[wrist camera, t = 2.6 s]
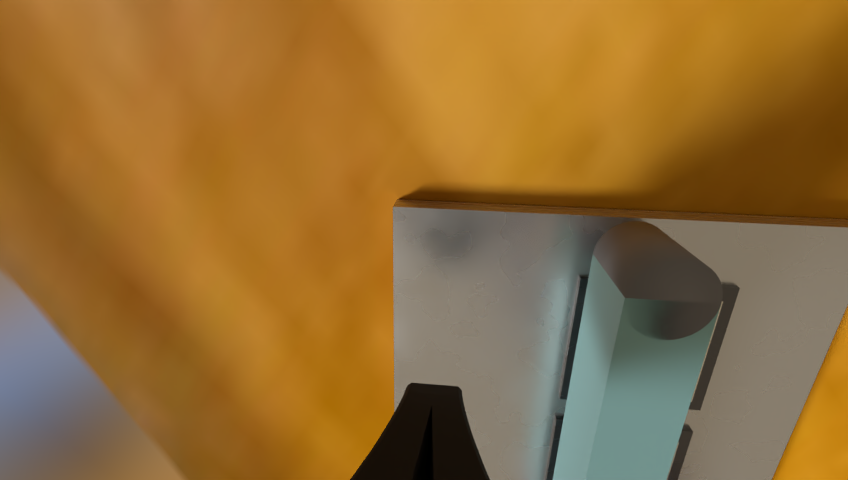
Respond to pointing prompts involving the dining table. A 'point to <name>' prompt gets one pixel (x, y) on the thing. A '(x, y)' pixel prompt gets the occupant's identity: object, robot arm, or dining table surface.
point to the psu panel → (561, 316)
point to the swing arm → (636, 356)
